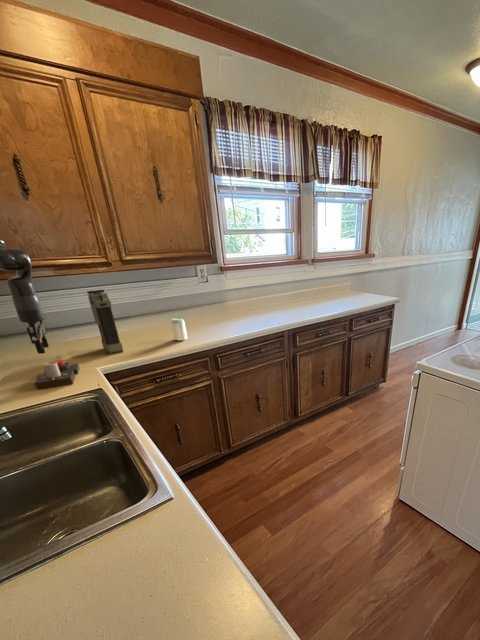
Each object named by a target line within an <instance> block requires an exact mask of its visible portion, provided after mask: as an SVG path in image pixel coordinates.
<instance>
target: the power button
mask: <svg viewBox="0 0 480 640" xmlns="http://www.w3.org/2000/svg"><path fill="white" fill-rule="evenodd" d="M55 362H57V365H58V367H59V366H63V365H65V363H64V362H65V361H64V360H56V361H55Z"/></svg>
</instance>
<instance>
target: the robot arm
mask: <svg viewBox="0 0 480 640" xmlns="http://www.w3.org/2000/svg"><path fill="white" fill-rule="evenodd" d="M0 271H4V272H9V271H16V273H15V276H12V277H10V278H8V279H7V280H6V284H7V287H8V290H9V292H10V295H11V299H12V303H13V305H14V308H15V311H16V313H17V316H18V319H19V321H20V323H23V324H24V323H27V324H28V327H26V331H27V333H28V335H29V339H30V343H31V344H32V345H34V346H35V349H36V351H37V354H39V355H41V354H45V353H46V350H45V348H46V349H47V348H49V346H50V345H49V342H48V340H47V334H48V333H47V331H46V328H45V326H44V323H43V321H44V320H46V316H45V314H44V311H43V308H42V305H41V303H40V300H39V298H38V296H37V294H36V290H35V288H34V284H33V275H32V261H31V257H30V256H29V254H28V253H27V252H26V251H25V250H23V249H22V248H20V247H7V245H6V242H5V241H4V239H2V238H1V237H0Z"/></svg>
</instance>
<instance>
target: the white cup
mask: <svg viewBox="0 0 480 640" xmlns="http://www.w3.org/2000/svg"><path fill="white" fill-rule="evenodd" d="M42 366H43V368H44V372H45V371H46V373H47V376H48V378H55V377H59V376H60V375H61V373H60V371H59V368H58V365H57V362H56V361H52V360H51V361H47V362H44V363H42Z"/></svg>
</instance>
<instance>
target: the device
mask: <svg viewBox="0 0 480 640" xmlns="http://www.w3.org/2000/svg"><path fill="white" fill-rule="evenodd" d="M86 293H87V294H86V295H87V296H88V302H89V305H90V308H91V312H92V316H93V318H94V322H95V324H97V327H98V330H99V334H100V338H101V345H102V347H103V350H104V351H105V352H106V353H107V354H109V355H115V354H120V353H124V349H123V345H122V342H121V341H120V337H119V333H118V332H119V331H118V328H117V325H116V321H115V318H114V314H113V310H112V301H111V300H110V298H109V296H108V293H107V292H105V290H104V289H96V290H95V289H94V290H87V291H86Z"/></svg>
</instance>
